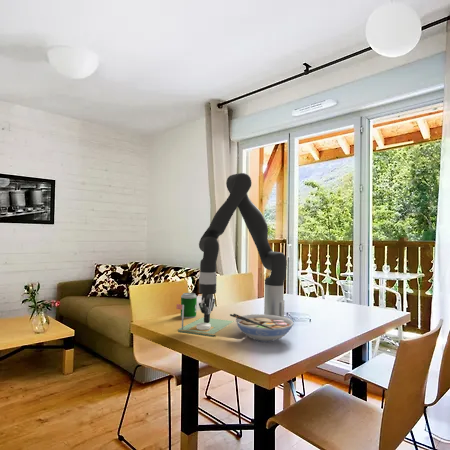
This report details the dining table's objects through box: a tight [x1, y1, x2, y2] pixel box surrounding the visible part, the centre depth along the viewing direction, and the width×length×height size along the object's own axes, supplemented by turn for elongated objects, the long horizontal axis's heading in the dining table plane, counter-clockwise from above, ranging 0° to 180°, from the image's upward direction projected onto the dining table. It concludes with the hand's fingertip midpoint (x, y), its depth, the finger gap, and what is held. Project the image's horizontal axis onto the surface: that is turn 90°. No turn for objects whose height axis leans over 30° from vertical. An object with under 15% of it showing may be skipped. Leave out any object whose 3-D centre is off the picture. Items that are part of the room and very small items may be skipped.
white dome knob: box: [196, 323, 212, 331], centre depth 148 cm, size 6×6×2 cm
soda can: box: [180, 292, 198, 319], centre depth 169 cm, size 8×8×12 cm
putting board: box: [176, 303, 234, 338], centre depth 153 cm, size 18×24×11 cm
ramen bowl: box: [229, 313, 294, 343], centre depth 138 cm, size 25×23×8 cm
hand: (206, 322), depth 152 cm, fingers closed
